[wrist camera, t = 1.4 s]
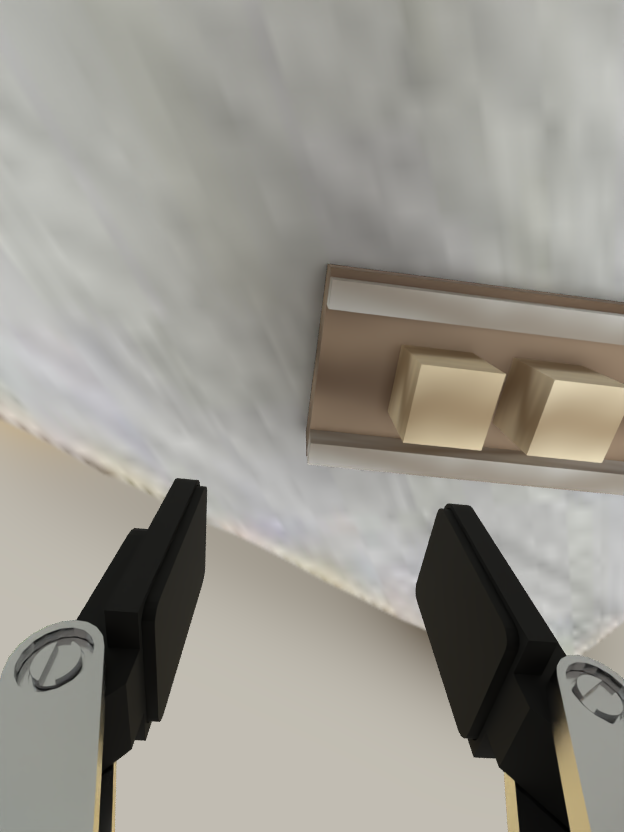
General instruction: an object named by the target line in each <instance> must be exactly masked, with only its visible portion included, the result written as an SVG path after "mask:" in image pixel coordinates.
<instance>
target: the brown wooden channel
mask: <svg viewBox="0 0 624 832" xmlns="http://www.w3.org/2000/svg"><path fill="white" fill-rule="evenodd" d="M402 344H403V345H412V346H420V347H429V348H437V349H446V350H454V351H462V352H471V353H474V354H475V355H477V356H479V357H480V358H482V359H483V360H485V361H486V362H488V363H489V364H491V365H493V366H494V367H496V368H497V369H499V370H500V371H502V372H503V373H505V374H506V376H505V379H504V382H503V385H502V388H501V392H500V395H499V398H498V401H497V404H496V407H495V410H494V413H493V416H492V419H491V423H490V426H489V429H488V432H487V435H486V438H485V441H484V444H483V447H482V450H481V451H480V450H470V449H460V448H451V447H441V446H431V445H421V444H411V443H403V441H402V439H401V437H400V435H399V433H398V431H397V429H396V427H395V425H394V423H393V421H392V419H391V417H390V415H389V413H388V407H389V403H390V398H391V393H392V388H393V384H394V379H395V374H396V369H397V365H398V360H399V355H400V351H401V346H402ZM513 358H521V359H530V360H538V361H547V362H555V363H564V364H572V365H580V366H584V367H586V368H588V369H591V370H593V371H595V372H598V373H600V374H602V375H604V376H607V377H609V378H611V379H614V380H616V381H618V382H620V383H623V384H624V302H617V301H609V300H601V299H594V298H586V297H578V296H571V295H563V294H555V293H548V292H540V291H532V290H525V289H517V288H509V287H502V286H494V285H486V284H479V283H471V282H463V281H456V280H448V279H440V278H433V277H425V276H417V275H410V274H402V273H394V272H387V271H379V270H371V269H363V268H356V267H348V266H340V265H333V264H328V265H327V273H326V280H325V288H324V296H323V304H322V311H321V319H320V327H319V335H318V342H317V350H316V358H315V366H314V373H313V381H312V389H311V397H310V405H309V412H308V420H307V428H306V456H307V458H308V465H317V466H327V467H337V468H347V469H358V470H368V471H378V472H389V473H399V474H409V475H419V476H430V477H440V478H450V479H461V480H471V481H481V482H491V483H502V484H512V485H522V486H533V487H543V488H553V489H563V490H574V491H584V492H594V493H605V494H615V495H624V416H623V418H622V420H621V423H620V425H619V427H618V429H617V431H616V433H615V436H614V438H613V440H612V442H611V444H610V447H609V449H608V451H607V453H606V455H605V457H604V460H603V462H602V463H597V462H587V461H577V460H568V459H558V458H548V457H538V456H529V455H526V454H525V453H524V452H523V451H522V450H521V449H520V448H519V447H517V446H516V445H515V444H514V443H513V442H512V441H511V440H510V439H509V438H508V437H507V436H506V435H505V434H504V433H503V432H502V431H501V430H500V429H498V428H497V427H496V426H495V425H494V424H493V420H494V417H495V414H496V411H497V408H498V405H499V402H500V398H501V395H502V392H503V389H504V386H505V383H506V380H507V377H508V374H509V371H510V368H511V365H512V361H513Z"/></svg>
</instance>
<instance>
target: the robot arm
mask: <svg viewBox="0 0 624 832" xmlns="http://www.w3.org/2000/svg"><path fill="white" fill-rule="evenodd" d="M206 512H207V487H204V486H200V482H199V480H190V479H180V478H177V479H175V481H174V482H173V484H172V486H171V488H170V490H169V492H168V493H167V495H166V497H165V499H164V501H163V503H162V504H161V506H160V508H159V510H158V512H157V514H156V515H155V517H154V519H153V521H152V523H151V525H150V526H149V528H148V529H139V528H134V529H133V530H131V531H130V533H129V534H128V535H127V537H126V539H125V541H124V542H123V544H122V545H121V547H120V549H119V550H118V552H117V554H116V555H115V557H114V559H113V561H112V562H111V564H110V565H109V567H108V569H107V570H106V572H105V574H104V575H103V577H102V579H101V580H100V582H99V583H98V585H97V587H96V589H95V590H94V592H93V594H92V595H91V597H90V598H89V600H88V602H87V603H86V605H85V607H84V608H83V610H82V612H81V613H80V615H79V617H78V618H77V620H72V621H62V622H59V623H55V624H52V625H49V626H46V627H45V628H43V629H41V630H39V631H37V632H35V633H33V634H32V635H31V636H29V637H28V638H27V639H25V640H24V641H23V642H22V643H20V644H19V645H18V647H17V648H16V649H15V650H14V652H13V653H12V654H11V655H10V656H9V658H8V660H7V662H6V664H5V666H4V668H3V671H2V675H1V678H0V832H115V797H116V761H117V760H118V759H119V758H121V757H122V756H123V755H125V754H126V753H127V752H128V751H130V750H131V749H132V746H133V744H134V741H135V740H144V741H145V740H146V738H147V735H148V732H149V728H150V725H151V722H152V721H156V722H160V721H161V719H162V716H163V714H164V710H165V707H166V704H167V701H168V697H169V694H170V691H171V687H172V684H173V681H174V677H175V674H176V670H177V667H178V664H179V660H180V657H181V654H182V650H183V647H184V644H185V640H186V637H187V634H188V630H189V627H190V623H191V620H192V617H193V614H194V610H195V607H196V603H197V600H198V597H199V593H200V590H201V587H202V583H203V579H204V573H205V550H206V548H205V547H206ZM416 599H417V602H418V605H419V609H420V612H421V615H422V618H423V621H424V624H425V627H426V631H427V634H428V637H429V640H430V643H431V646H432V649H433V653H434V656H435V658H436V662H437V665H438V668H439V671H440V675H441V678H442V681H443V684H444V687H445V690H446V693H447V697H448V700H449V703H450V706H451V709H452V712H453V716H454V718H455V722H456V725H457V728H458V731H459V733H460V734H461V736H462V737H463V738H468V741H469V744H470V747H471V751H472V754H473V756H474V757H478V758H496V760H497V763H498V766H499V768H501V769H502V770H503V771H504V782H505V796H506V810H507V824H508V832H624V679H623V678H622V677H621V676H620V675H618V674H617V673H616V672H614V671H613V670H612V669H610V668H608V667H607V666H605V665H604V664H602V663H600V662H598V661H596V660H593V659H591V658H588V657H584V656H580V655H568V656H566V654H565V653H564V651H563V650H562V648H561V646H560V645H559V643H558V641H557V640H556V638H555V637H554V635H553V633H552V632H551V630H550V629H549V627H548V626H547V624H546V622H545V621H544V619H543V618H542V616H541V615H540V613H539V612H538V610H537V608H536V607H535V605H534V604H533V602H532V601H531V599H530V597H529V596H528V594H527V593H526V591H525V590H524V588H523V587H522V585H521V583H520V582H519V580H518V579H517V577H516V576H515V574H514V572H513V571H512V569H511V568H510V566H509V565H508V563H507V561H506V560H505V558H504V557H503V555H502V554H501V552H500V551H499V549H498V547H497V546H496V544H495V543H494V541H493V540H492V538H491V536H490V535H489V533H488V532H487V530H486V529H485V527H484V526H483V524H482V522H481V521H480V519H479V518H478V516H477V515H476V513H475V511H474V510H473V508H472V507H471V506H469V505H459V504H447V505H446V506H445V508H444V509H442V508H441V509H439V510H438V512H437V515H436V519H435V522H434V525H433V529H432V532H431V536H430V539H429V542H428V546H427V549H426V553H425V556H424V560H423V563H422V566H421V570H420V573H419V577H418V580H417V583H416Z"/></svg>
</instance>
